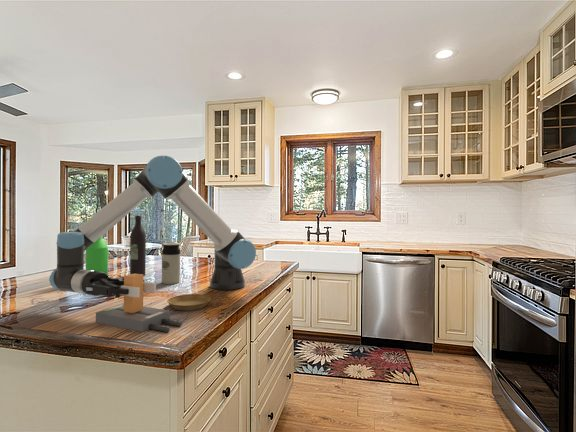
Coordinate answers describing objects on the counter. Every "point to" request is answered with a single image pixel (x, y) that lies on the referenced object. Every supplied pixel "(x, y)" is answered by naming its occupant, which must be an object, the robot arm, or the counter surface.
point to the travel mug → (170, 263)
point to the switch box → (136, 319)
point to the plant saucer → (189, 301)
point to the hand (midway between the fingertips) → (147, 290)
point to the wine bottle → (137, 248)
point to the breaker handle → (133, 302)
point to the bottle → (97, 256)
